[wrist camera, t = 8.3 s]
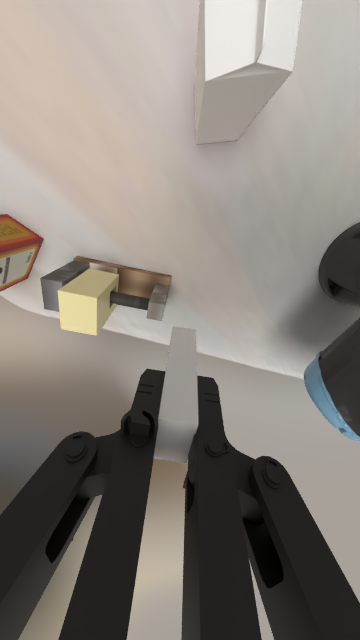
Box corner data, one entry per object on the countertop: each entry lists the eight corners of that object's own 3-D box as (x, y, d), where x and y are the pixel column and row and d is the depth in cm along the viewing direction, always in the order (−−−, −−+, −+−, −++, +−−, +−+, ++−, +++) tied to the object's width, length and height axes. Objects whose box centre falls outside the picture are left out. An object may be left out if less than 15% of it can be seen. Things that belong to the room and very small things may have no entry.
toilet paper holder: (170, 275, 41) (165, 300, 31) (165, 303, 44) (159, 333, 34) (77, 256, 39) (39, 274, 29) (78, 285, 42) (44, 311, 32)
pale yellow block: (118, 274, 36) (96, 298, 27) (116, 305, 39) (96, 335, 30) (89, 268, 35) (57, 290, 27) (89, 299, 38) (61, 329, 30)
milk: (195, 145, 31) (205, 56, 12) (194, 86, 28) (204, -161, 9) (237, 140, 30) (318, 42, 11) (240, 81, 27) (358, -191, 8)
